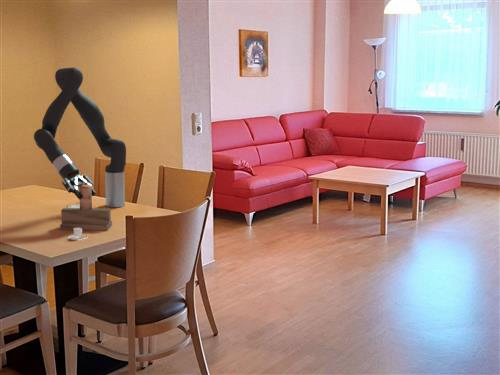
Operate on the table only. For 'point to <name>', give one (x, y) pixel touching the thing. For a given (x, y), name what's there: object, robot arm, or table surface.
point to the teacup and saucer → (76, 234)
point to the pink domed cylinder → (86, 197)
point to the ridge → (86, 219)
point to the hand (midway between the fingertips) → (88, 196)
